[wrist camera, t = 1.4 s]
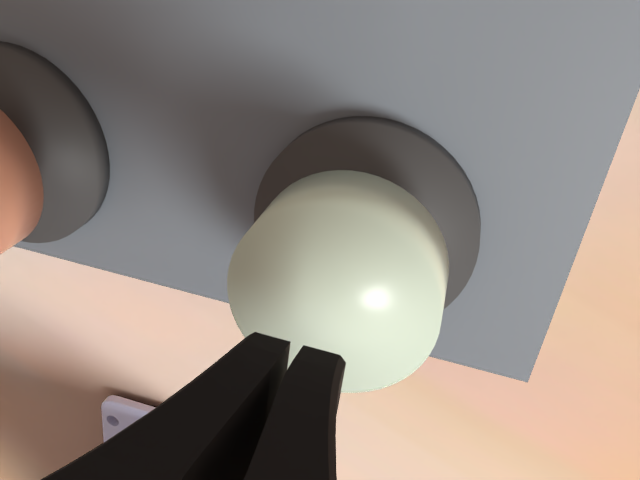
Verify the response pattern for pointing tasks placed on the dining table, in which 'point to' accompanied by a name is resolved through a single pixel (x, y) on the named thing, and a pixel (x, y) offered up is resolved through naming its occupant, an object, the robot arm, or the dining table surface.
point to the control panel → (327, 134)
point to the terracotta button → (17, 186)
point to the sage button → (344, 275)
